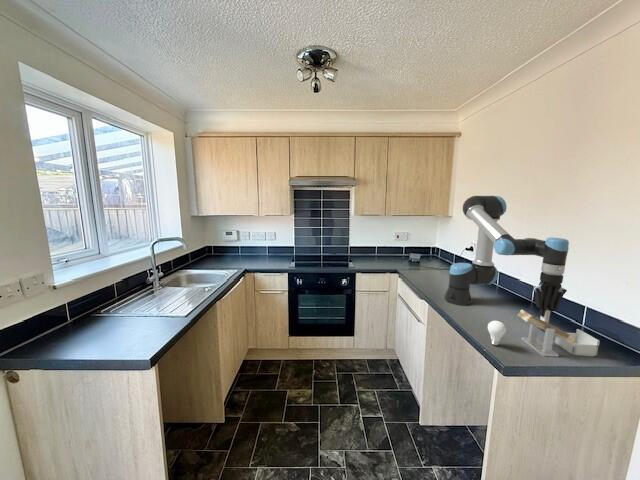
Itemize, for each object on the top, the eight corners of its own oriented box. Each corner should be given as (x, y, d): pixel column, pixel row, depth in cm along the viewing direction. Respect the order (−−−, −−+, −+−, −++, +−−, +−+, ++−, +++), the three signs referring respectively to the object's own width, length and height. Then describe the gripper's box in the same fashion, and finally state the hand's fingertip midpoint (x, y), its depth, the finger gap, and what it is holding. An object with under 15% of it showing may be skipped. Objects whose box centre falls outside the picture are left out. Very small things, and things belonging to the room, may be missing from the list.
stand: (521, 338, 120) (524, 315, 118) (535, 339, 120) (538, 316, 118) (542, 355, 107) (546, 329, 105) (558, 356, 107) (562, 330, 105)
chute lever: (505, 309, 122) (510, 302, 122) (540, 326, 122) (545, 318, 122) (525, 324, 109) (531, 315, 108) (565, 342, 109) (571, 334, 108)
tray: (554, 342, 117) (556, 327, 116) (575, 343, 117) (578, 329, 115) (572, 355, 108) (575, 339, 107) (596, 356, 107) (599, 340, 106)
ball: (566, 337, 113) (572, 341, 113) (561, 342, 114) (567, 346, 114) (573, 341, 110) (579, 345, 110) (567, 346, 111) (573, 350, 111)
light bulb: (485, 345, 114) (488, 322, 112) (485, 339, 120) (488, 316, 118) (503, 350, 111) (507, 326, 109) (503, 343, 116) (506, 320, 114)
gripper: (542, 274, 112) (534, 326, 116) (575, 276, 111) (566, 327, 115) (530, 270, 119) (522, 318, 123) (561, 271, 118) (552, 319, 122)
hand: (543, 322), depth 119 cm, fingers closed
